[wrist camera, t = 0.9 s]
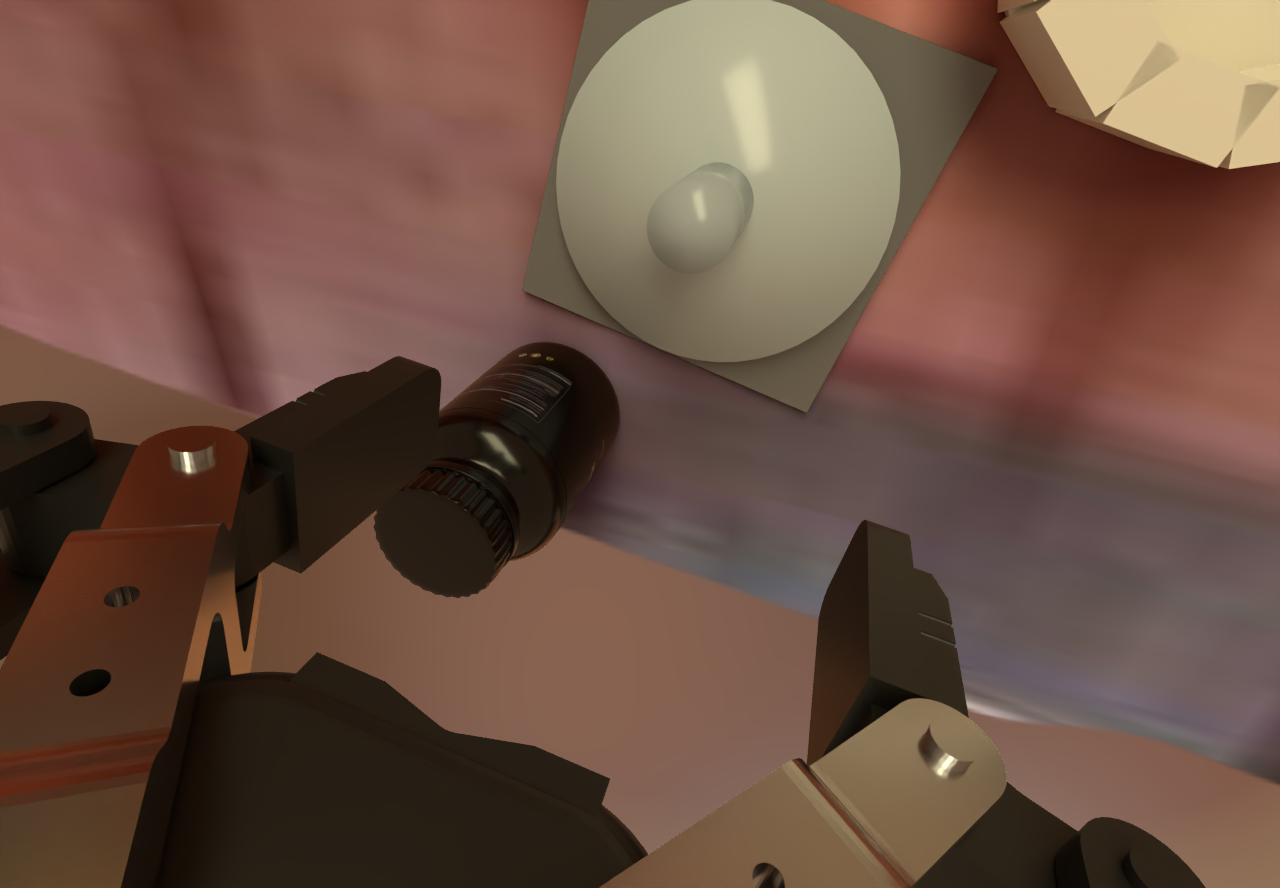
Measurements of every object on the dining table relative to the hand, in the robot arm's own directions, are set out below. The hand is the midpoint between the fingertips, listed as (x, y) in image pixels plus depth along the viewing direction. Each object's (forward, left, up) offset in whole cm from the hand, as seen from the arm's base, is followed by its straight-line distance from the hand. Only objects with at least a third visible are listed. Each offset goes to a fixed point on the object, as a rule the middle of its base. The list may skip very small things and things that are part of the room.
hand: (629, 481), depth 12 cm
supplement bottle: (-6, -11, -18) cm, 22 cm away
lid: (-2, +1, -17) cm, 18 cm away
